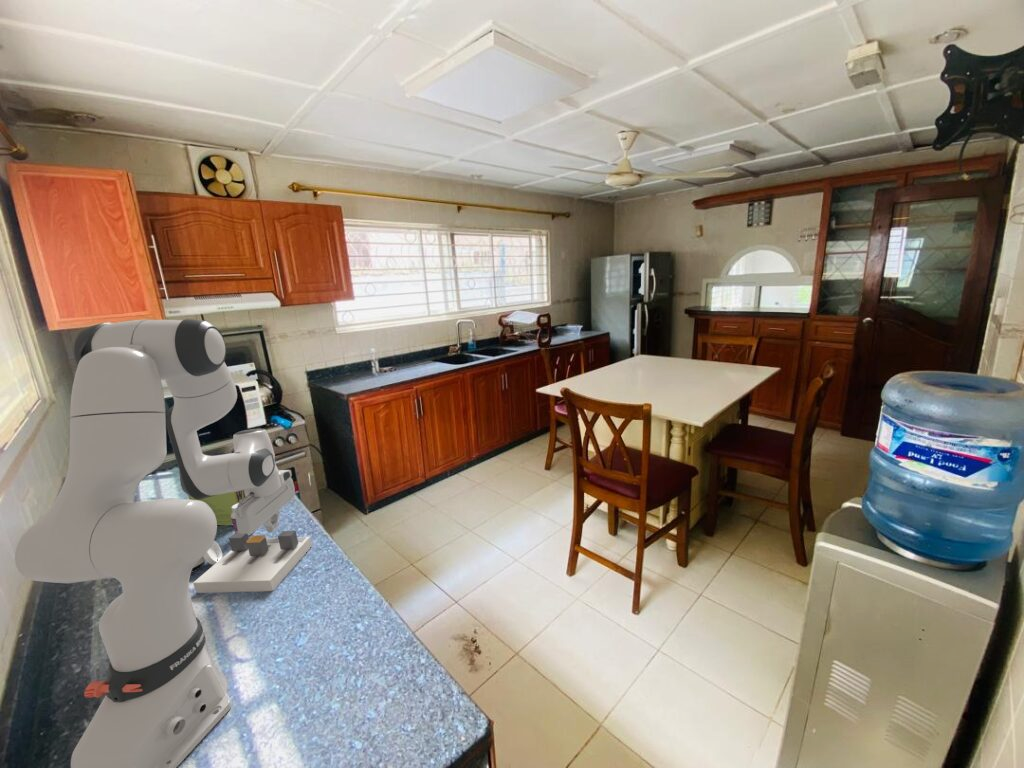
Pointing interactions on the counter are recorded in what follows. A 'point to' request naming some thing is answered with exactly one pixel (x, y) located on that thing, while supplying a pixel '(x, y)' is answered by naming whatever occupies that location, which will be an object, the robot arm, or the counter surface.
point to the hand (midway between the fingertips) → (273, 529)
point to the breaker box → (252, 569)
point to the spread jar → (209, 556)
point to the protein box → (223, 505)
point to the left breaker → (238, 542)
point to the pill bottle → (234, 518)
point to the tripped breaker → (257, 545)
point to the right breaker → (288, 540)
